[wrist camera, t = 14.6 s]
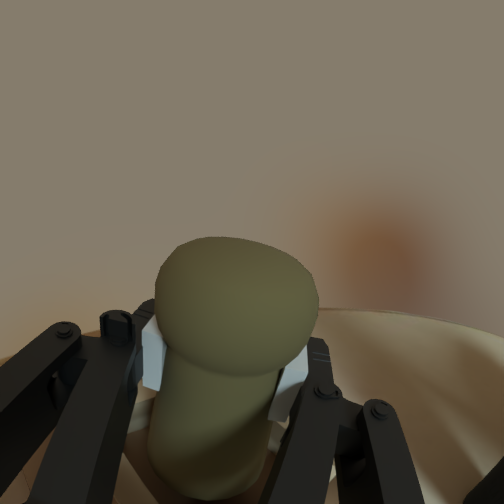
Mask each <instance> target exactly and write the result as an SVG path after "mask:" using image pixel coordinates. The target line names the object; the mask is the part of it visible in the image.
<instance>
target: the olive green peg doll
mask: <svg viewBox="0 0 504 504" xmlns="http://www.w3.org/2000/svg"><path fill="white" fill-rule="evenodd" d="M318 307H319V297H318V294H317V290H316V286H315V283H314V280H313V277H312V274H311V273H310V272H309V271H308V270H307V269H306V268H305V267H304V266H303V265H302V264H301V263H300V262H299V261H298V260H297V259H295V258H294V257H292V256H290V255H289V254H287V253H285V252H283V251H281V250H278V249H276V248H274V247H271V246H268V245H265V244H262V243H258V242H254V241H249V240H245V239H240V238H230V237H205V238H199V239H195V240H193V241H190V242H187V243H185V244H182V245H180V246H178V247H177V248H176V249H175V250H174V251H173V252H172V254H171V255H170V256H169V257H168V258H167V260H166V261H165V262H164V263H163V265H162V266H161V268H160V271H159V273H158V277H157V279H156V282H155V306H154V313H155V317H156V321H157V325H158V329H159V330H160V332H161V334H162V336H163V338H164V340H165V341H166V343H167V348H166V354H165V360H164V367H163V373H162V380H161V385H160V390H159V391H156V396H155V401H154V406H153V412H152V417H151V423H150V428H149V434H148V440H147V455H148V461H149V463H150V465H151V467H152V469H153V471H154V473H155V474H156V475H157V476H158V477H159V478H160V479H161V480H162V481H163V482H164V483H165V484H166V485H167V486H168V487H169V488H171V489H173V490H175V491H177V492H179V493H180V494H182V495H184V496H186V497H191V498H196V499H201V500H206V501H210V500H221V499H229V498H231V497H233V496H236V495H238V494H241V493H243V492H245V491H246V490H247V489H248V488H249V487H251V486H252V485H253V484H254V483H255V482H256V481H257V479H258V477H259V475H260V473H261V471H262V469H263V465H264V461H265V457H266V452H267V448H268V443H269V438H270V434H271V429H272V424H273V421H272V420H268V414H269V409H270V406H271V403H272V400H273V397H274V394H275V391H276V388H277V384H278V381H279V377H280V373H281V369H282V368H284V367H285V366H286V365H288V364H289V363H290V362H291V361H293V360H294V359H295V358H296V357H297V356H298V355H299V354H300V353H301V351H302V350H303V349H304V347H305V346H306V345H307V343H308V341H309V338H310V336H311V333H312V331H313V328H314V325H315V322H316V319H317V316H318Z"/></svg>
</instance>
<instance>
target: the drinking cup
mask: <svg viewBox="0 0 504 504" xmlns="http://www.w3.org/2000/svg"><path fill="white" fill-rule="evenodd" d="M463 504H504V457H503V458H502V459H501V460H500V461H499V462H498V463H497V465H496V466H495V467H494V468H493V469H492V470H491V471H490V472H489V473H488V474H487V475H486V476H485V478H484V479H483V480H482V481H481V482H480V483H479V484H478V485H477V486H476V487H475V488H474V489H473V490H471V491H470V492H469V493H468V495H467V496H466V498H465V500H464V503H463Z"/></svg>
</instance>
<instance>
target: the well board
mask: <svg viewBox="0 0 504 504" xmlns="http://www.w3.org/2000/svg"><path fill="white" fill-rule="evenodd" d="M155 396H156V390H153V389H150V388H148V387H145V386H143V378H141V380H140V381H139V383H138V394H137V398H136V401H135V405H134V409H133V413H132V416H131V420H130V424H129V428H128V432H127V436H126V440H125V444H124V449H123V453H122V457H121V462H120V466H119V471H118V475H117V480H116V485H115V490H114V495H113V500H112V504H257V503H258V501H259V499H260V496H261V494H262V491H263V489H264V486H265V484H266V481H267V479H268V476H269V474H270V471H271V469H272V466H273V463H274V461H275V458H276V455H277V452H278V450H279V447H280V444H281V442H280V440H281V438H282V436H283V434H284V432H285V430H286V428H287V426H288V424H289V416H288V418H287V420H286V423H284V422H278V421H273V424H272V429H271V434H270V438H269V443H268V448H267V452H266V457H265V461H264V465H263V469H262V471H261V473H260V475H259V477H258V479H257V481H256V482H255V483H254V484H253V485H252V486H251V487H249V488H248V489H247V490H246V491H245V492H243V493H241V494H238V495H236V496H233V497H231V498H229V499H221V500H210V501H206V500H201V499H196V498H191V497H186V496H184V495H182V494H180V493H179V492H177V491H175V490H173V489H171V488H169V487H168V486H167V485H166V484H165V483H164V482H163V481H162V480H161V479H160V478H159V477H158V476H157V475H156V474H155V473H154V471H153V469H152V467H151V465H150V463H149V461H148V455H147V440H148V434H149V428H150V423H151V417H152V412H153V406H154V401H155ZM55 428H56V427H55ZM55 428H54V429H53V431H52V432H51V433H50V434H49V435H48V437H47V438H46V439H45V440H44V442H43V443H42V444H41V445H40V447H39V448H38V449H37V450H36V452H35V453H34V454H33V455H32V457H31V458H30V459H29V461H28V462H27V463H26V464H25V466H24V467H23V468H22V469H23V472H24V475H25V478H26V481H27V484H28V486H29V489H30V492H31V489H32V486H33V483H34V481H35V478H36V475H37V472H38V470H39V467H40V464H41V462H42V459H43V457H44V454H45V452H46V449H47V447H48V444H49V442H50V439H51V437H52V435H53V432H54V430H55ZM325 504H339V499H338V489H337V479H336V470H335V462H334V460H333V465H332V471H331V476H330V481H329V486H328V490H327V495H326V499H325Z"/></svg>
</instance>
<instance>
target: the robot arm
mask: <svg viewBox="0 0 504 504" xmlns="http://www.w3.org/2000/svg"><path fill="white" fill-rule="evenodd" d="M154 306H155V299H150V300H147V301H145V302H143V303H142V305H140V306H139V307H138V309H137V310H136V311H135V312H134V313H133V314H130V313H129V312H126V311H122V310H110V311H107V312H105V313H103V314H102V315H101V316H100V330H101V337H90V336H84V335H81V330H80V328H79V327H78V326H77V325H76V324H74V323H71V322H58V323H55V324H53V325H52V326H50V327H49V328H48V329H46V330H45V331H44V332H43V333H41V334H40V335H39V336H38V337H36V338H35V339H34V340H33V341H31V342H30V343H29V344H28V345H26V346H25V347H24V348H23V349H21V350H20V351H19V352H18V353H17V354H15V355H14V356H13V357H12V358H11V359H9V360H8V361H7V362H6V363H5V364H3V365H2V366H1V367H0V497H1V496H2V495H3V493H4V492H5V491H6V489H7V488H8V487H9V485H10V484H11V483H12V481H13V480H14V479H15V477H16V476H17V475H18V473H19V472H20V471H21V470H22V468H23V467H24V466H25V464H26V463H27V462H28V461H29V459H30V458H31V457H32V455H33V454H34V453H35V452H36V450H37V449H38V448H39V447H40V445H41V444H42V443H43V442H44V440H45V439H46V438H47V437H48V435H49V434H50V433H51V432H52V431H53V429H54V428H55V427H56V428H55V430H54V432H53V435H52V437H51V439H50V442H49V444H48V447H47V449H46V452H45V454H44V457H43V459H42V462H41V464H40V467H39V470H38V472H37V475H36V478H35V481H34V483H33V486H32V489H31V492H30V495H29V498H28V500H27V501H26V502H25V503H23V504H112V500H113V495H114V490H115V485H116V480H117V475H118V471H119V466H120V462H121V457H122V453H123V449H124V444H125V440H126V436H127V432H128V428H129V424H130V420H131V416H132V413H133V409H134V405H135V401H136V398H137V394H138V383H139V381H140V380H141V378H142V377H143V386H145V387H148V388H150V389H153V390H156V391H159V390H160V385H161V380H162V373H163V367H164V360H165V354H166V348H167V343H166V341H165V340H164V338H163V336H162V334H161V332H160V330H159V329H158V325H157V321H156V317H155V313H154ZM329 355H330V354H329V348H328V346H327V344H326V343H325V342H324V340H323V339H320V338H314V337H310V338H309V341H308V343H307V345H306V346H305V347H304V349H303V350H302V351H301V353H300V354H299V355H298V356H297V357H296V358H295V359H294V360H293V361H291V362H290V363H289V364H288V365H286V366H285V367H284V368H282V369H281V373H280V377H279V381H278V384H277V388H276V391H275V394H274V397H273V400H272V403H271V406H270V409H269V414H268V420H272V421H278V422H284V423H286V420H287V418H288V416H289V424H288V426H287V428H286V430H285V432H284V434H283V436H282V438H281V440H280V442H281V444H280V447H279V450H278V452H277V455H276V458H275V461H274V463H273V466H272V469H271V471H270V474H269V476H268V479H267V481H266V484H265V486H264V489H263V491H262V494H261V496H260V499H259V501H258V503H257V504H325V499H326V495H327V490H328V486H329V481H330V476H331V471H332V465H333V460H334V462H335V470H336V479H337V489H338V499H339V504H425V502H424V499H423V495H422V491H421V488H420V484H419V481H418V478H417V474H416V471H415V468H414V464H413V461H412V458H411V455H410V452H409V449H408V446H407V443H406V440H405V437H404V434H403V431H402V428H401V425H400V422H399V419H398V417H397V414H396V412H395V410H394V408H393V407H392V406H391V405H390V404H389V403H387V402H385V401H383V400H378V399H371V400H369V401H367V402H365V404H364V405H363V406H362V405H359V404H356V403H353V402H351V401H348V400H346V399H345V398H343V396H342V392H341V390H340V389H339V387H337V386H336V385H335V384H334V380H333V373H332V367H331V362H330V356H329ZM55 372H56V373H55ZM54 373H55V374H54Z"/></svg>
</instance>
